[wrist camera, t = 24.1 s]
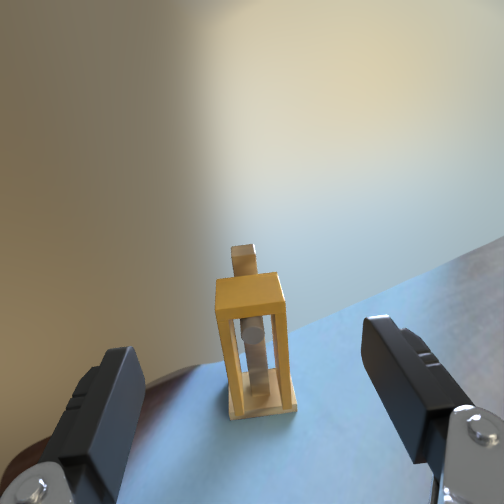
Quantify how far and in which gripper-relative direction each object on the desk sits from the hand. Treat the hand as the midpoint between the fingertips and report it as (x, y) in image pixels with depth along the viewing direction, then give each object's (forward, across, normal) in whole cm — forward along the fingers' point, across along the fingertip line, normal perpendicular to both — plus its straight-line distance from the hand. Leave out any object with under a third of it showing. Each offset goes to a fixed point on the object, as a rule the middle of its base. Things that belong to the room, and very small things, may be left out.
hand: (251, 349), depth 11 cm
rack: (+13, 0, +22) cm, 25 cm away
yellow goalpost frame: (+11, 0, +16) cm, 19 cm away
